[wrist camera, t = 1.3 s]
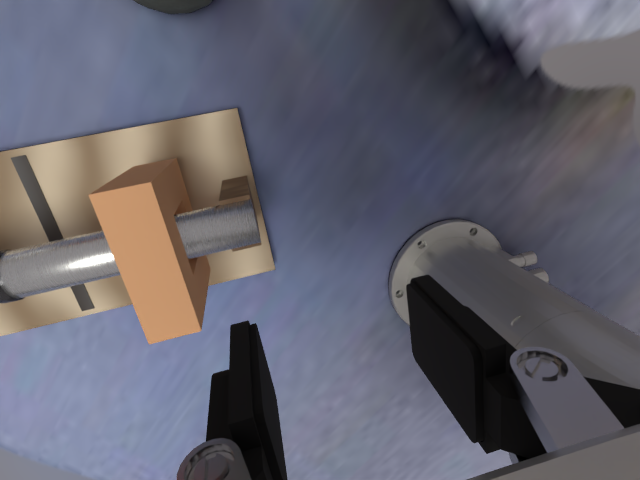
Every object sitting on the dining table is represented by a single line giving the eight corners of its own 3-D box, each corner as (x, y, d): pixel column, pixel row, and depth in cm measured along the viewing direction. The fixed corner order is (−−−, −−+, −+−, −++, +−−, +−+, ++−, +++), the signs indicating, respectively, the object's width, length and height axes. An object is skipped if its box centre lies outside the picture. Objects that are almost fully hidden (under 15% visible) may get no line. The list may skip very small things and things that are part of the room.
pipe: (249, 192, 26) (251, 203, 24) (259, 234, 28) (262, 250, 25) (-122, 271, 24) (-173, 296, 21) (-93, 315, 25) (-137, 344, 22)
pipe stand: (237, 107, 31) (237, 110, 23) (273, 262, 36) (284, 307, 28) (-92, 168, 28) (-220, 194, 20) (-1, 328, 33) (-74, 399, 25)
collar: (176, 157, 28) (150, 182, 19) (210, 269, 31) (201, 330, 23) (133, 166, 27) (88, 195, 19) (172, 278, 30) (148, 344, 22)
